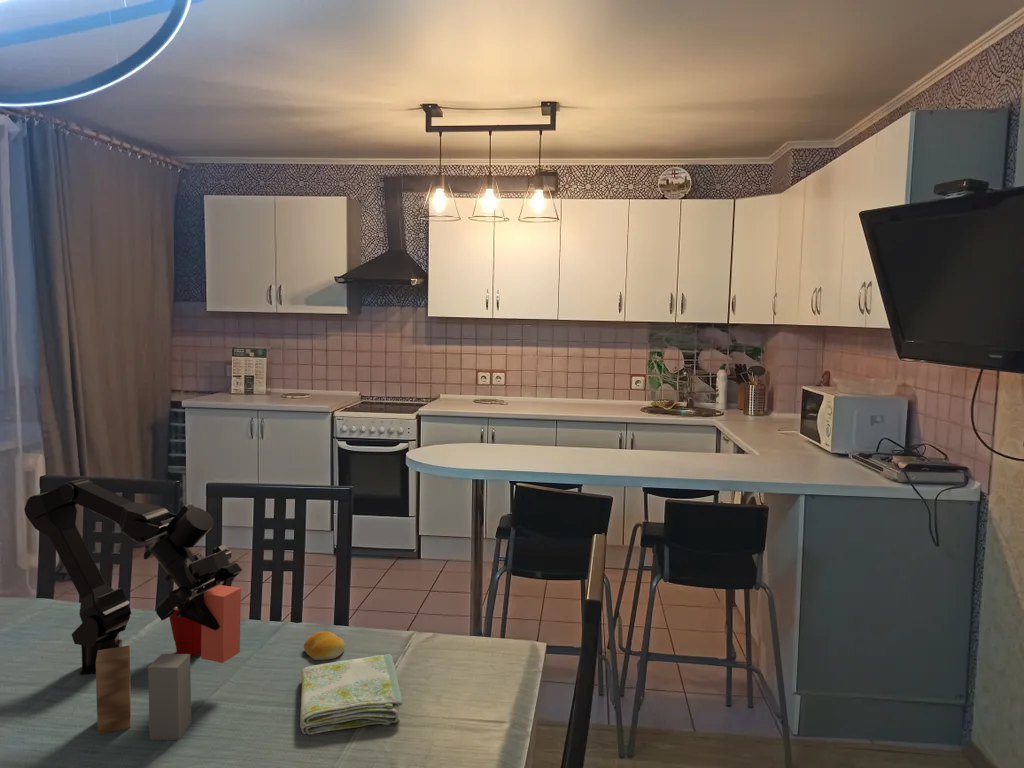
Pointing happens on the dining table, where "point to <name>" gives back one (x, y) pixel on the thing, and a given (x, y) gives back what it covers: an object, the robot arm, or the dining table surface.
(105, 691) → the walnut block
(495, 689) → the dining table surface
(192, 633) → the plastic cup
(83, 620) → the robot arm
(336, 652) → the bread roll
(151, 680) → the gray block
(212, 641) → the red block
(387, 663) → the towel
